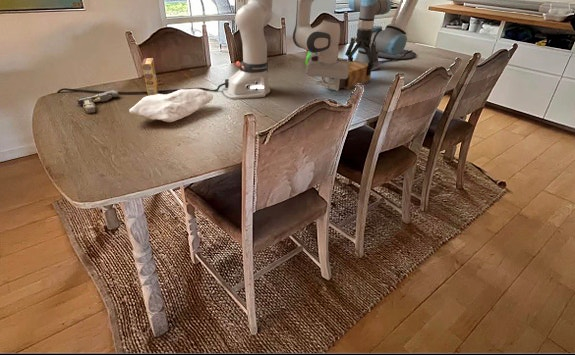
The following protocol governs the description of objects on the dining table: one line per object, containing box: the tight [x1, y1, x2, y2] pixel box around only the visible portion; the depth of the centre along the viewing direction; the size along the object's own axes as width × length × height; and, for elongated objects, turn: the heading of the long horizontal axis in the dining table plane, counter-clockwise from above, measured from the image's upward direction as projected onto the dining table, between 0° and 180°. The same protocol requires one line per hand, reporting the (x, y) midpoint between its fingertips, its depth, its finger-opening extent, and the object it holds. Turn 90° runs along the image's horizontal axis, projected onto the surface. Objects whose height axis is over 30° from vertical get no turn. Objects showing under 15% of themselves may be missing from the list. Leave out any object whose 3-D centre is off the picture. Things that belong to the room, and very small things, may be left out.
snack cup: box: [304, 51, 313, 67], centre depth 207 cm, size 16×10×10 cm
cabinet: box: [341, 59, 373, 90], centre depth 190 cm, size 19×11×9 cm, turn 136°
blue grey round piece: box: [378, 48, 417, 60], centre depth 248 cm, size 35×35×9 cm
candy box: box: [141, 57, 160, 96], centre depth 163 cm, size 9×4×15 cm, turn 13°
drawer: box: [315, 75, 349, 92], centre depth 182 cm, size 24×10×7 cm, turn 136°
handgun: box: [76, 89, 120, 114], centre depth 155 cm, size 3×18×15 cm
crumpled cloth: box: [129, 88, 214, 123], centre depth 147 cm, size 24×35×9 cm
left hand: (326, 85), depth 177 cm, fingers closed
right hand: (358, 72), depth 194 cm, fingers closed on cabinet, 11 cm apart
